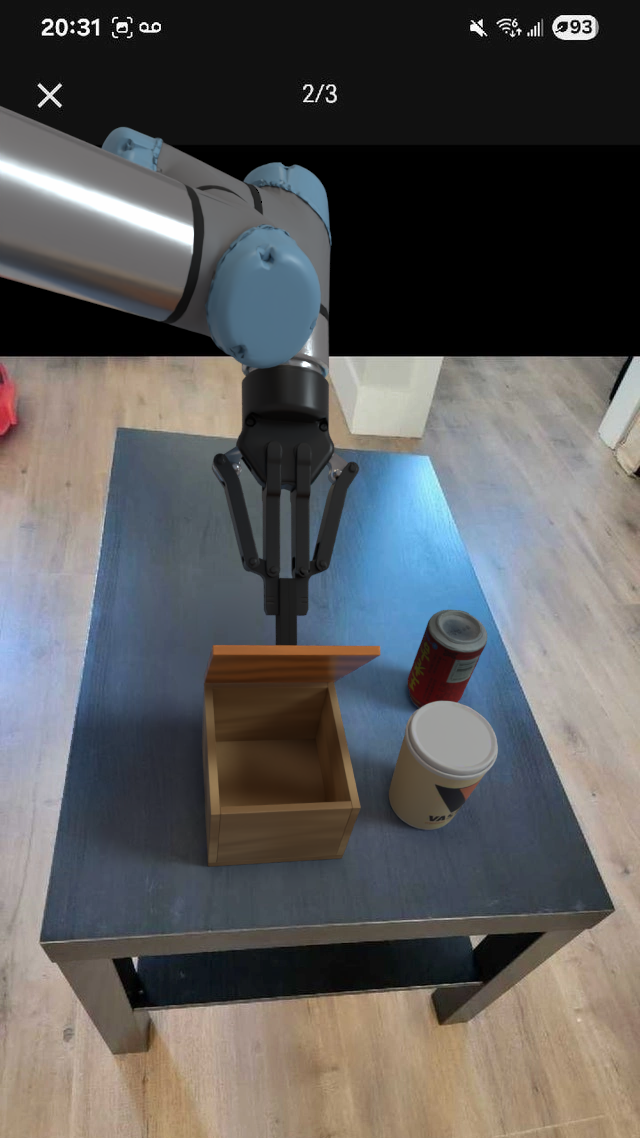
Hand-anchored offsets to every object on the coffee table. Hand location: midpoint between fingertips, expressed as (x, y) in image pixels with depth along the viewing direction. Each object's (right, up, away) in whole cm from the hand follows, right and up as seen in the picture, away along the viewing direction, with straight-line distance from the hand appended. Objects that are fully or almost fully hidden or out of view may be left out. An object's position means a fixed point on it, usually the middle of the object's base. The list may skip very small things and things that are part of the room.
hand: (286, 653), depth 61 cm
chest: (-2, -14, +12) cm, 19 cm away
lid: (0, -1, +2) cm, 2 cm away
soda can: (+17, -3, +26) cm, 31 cm away
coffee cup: (+14, -15, +15) cm, 26 cm away
